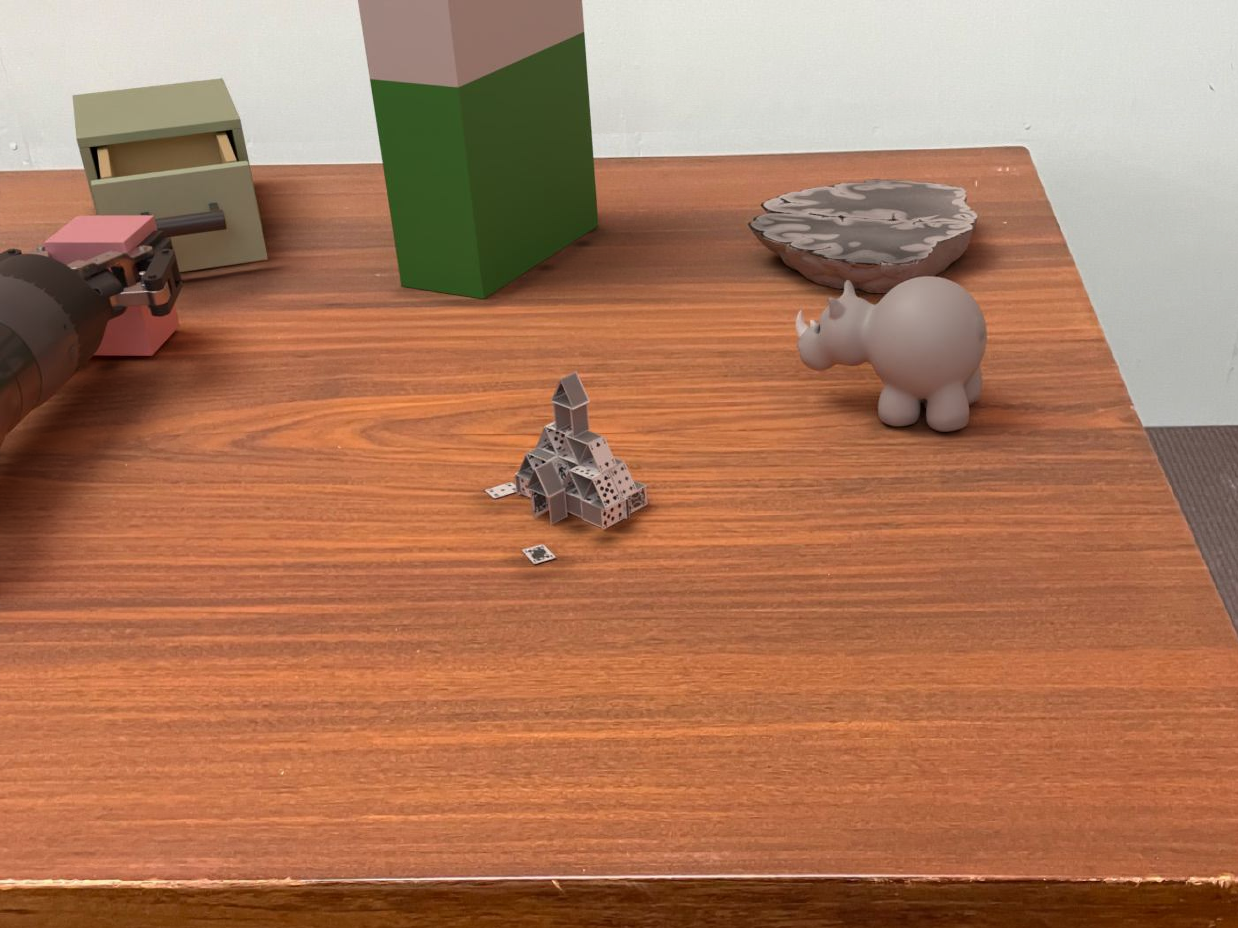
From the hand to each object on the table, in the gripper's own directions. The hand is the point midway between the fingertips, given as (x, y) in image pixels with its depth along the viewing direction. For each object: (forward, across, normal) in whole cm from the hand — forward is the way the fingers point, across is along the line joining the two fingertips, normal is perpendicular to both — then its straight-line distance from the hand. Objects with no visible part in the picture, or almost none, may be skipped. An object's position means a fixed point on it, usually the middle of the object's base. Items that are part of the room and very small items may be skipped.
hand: (121, 244), depth 106 cm
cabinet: (+26, +7, +6) cm, 28 cm away
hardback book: (+16, -24, +6) cm, 29 cm away
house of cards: (-27, -34, +6) cm, 43 cm away
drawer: (+14, +1, +5) cm, 15 cm away
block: (-3, 0, +6) cm, 7 cm away
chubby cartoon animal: (-13, -53, +6) cm, 55 cm away
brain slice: (+15, -52, +6) cm, 54 cm away
